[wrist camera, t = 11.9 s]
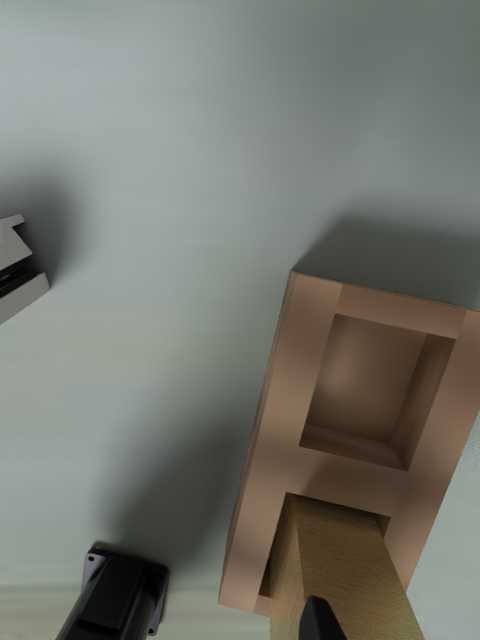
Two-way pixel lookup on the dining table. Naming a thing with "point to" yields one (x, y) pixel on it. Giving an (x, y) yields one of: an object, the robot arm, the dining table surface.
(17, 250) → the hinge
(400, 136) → the dining table surface
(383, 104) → the dining table surface
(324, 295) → the recessed tan tray
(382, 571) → the tan block
